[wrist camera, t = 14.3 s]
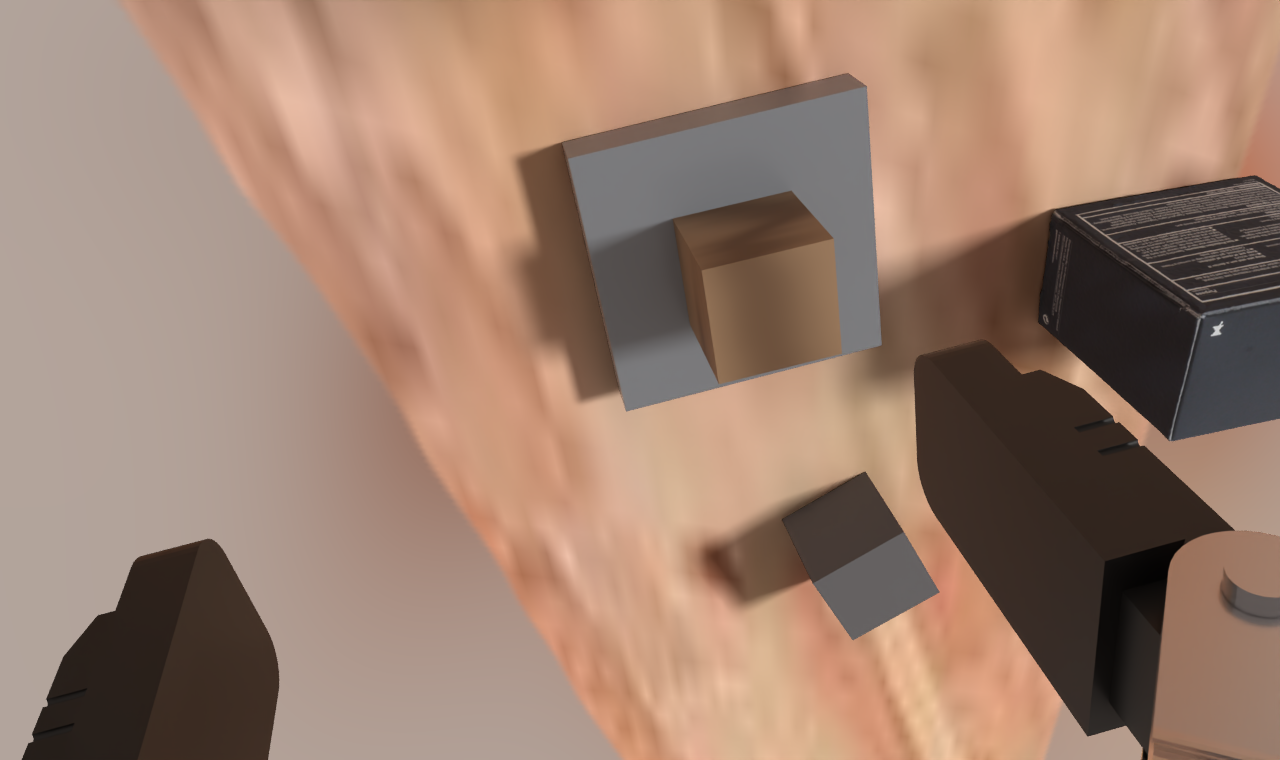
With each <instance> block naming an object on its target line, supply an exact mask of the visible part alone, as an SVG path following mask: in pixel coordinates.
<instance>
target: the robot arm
mask: <svg viewBox="0 0 1280 760" xmlns="http://www.w3.org/2000/svg"><path fill="white" fill-rule="evenodd" d="M914 388H915V414H916V441H917V463H918V471H919V476H920V480H921V484H922V487H923V490H924V493H925V496H926V498H927V501H928V503H929V505H930V507H931V509H932V511H933V513H934V514H935V516H936V517H937V519H938V520H939V522H940V523H941V525H942V526H943V528H944V529H945V531H946V532H947V533H948V535H949V536H950V538H951V539H952V541H953V542H954V544H955V545H956V546H957V548H958V549H959V551H960V552H961V554H962V555H963V557H964V558H965V560H966V561H967V562H968V564H969V565H970V567H971V568H972V570H973V571H974V573H975V574H976V575H977V577H978V578H979V580H980V581H981V583H982V584H983V586H984V587H985V589H986V590H987V591H988V593H989V594H990V596H991V597H992V599H993V600H994V602H995V603H996V604H997V606H998V607H999V609H1000V610H1001V612H1002V613H1003V615H1004V616H1005V617H1006V619H1007V620H1008V622H1009V623H1010V625H1011V626H1012V628H1013V629H1014V631H1015V632H1016V633H1017V635H1018V636H1019V638H1020V639H1021V641H1022V642H1023V644H1024V645H1025V646H1026V648H1027V649H1028V651H1029V652H1030V654H1031V655H1032V657H1033V658H1034V660H1035V661H1036V662H1037V664H1038V665H1039V667H1040V668H1041V670H1042V671H1043V673H1044V674H1045V675H1046V677H1047V678H1048V680H1049V681H1050V683H1051V684H1052V686H1053V687H1054V688H1055V690H1056V691H1057V693H1058V694H1059V696H1060V697H1061V699H1062V700H1063V702H1064V703H1065V704H1066V706H1067V707H1068V709H1069V710H1070V712H1071V713H1072V715H1073V716H1074V717H1075V719H1076V720H1077V722H1078V723H1079V725H1080V726H1081V728H1082V729H1083V731H1084V732H1085V733H1086V735H1087V736H1091V735H1095V734H1098V733H1101V732H1105V731H1109V730H1112V729H1116V728H1119V727H1123V726H1127V727H1128V728H1129V730H1130V731H1131V733H1132V734H1133V735H1134V737H1135V738H1136V739H1137V741H1138V742H1139V743H1140V745H1141V746H1142V747H1143V748H1142V756H1141V760H1280V537H1279V536H1276V535H1271V534H1266V533H1261V532H1252V531H1235V530H1234V529H1233V528H1232V527H1231V526H1230V525H1228V523H1227V522H1225V521H1224V520H1223V519H1222V518H1221V517H1220V516H1219V515H1218V514H1217V513H1216V512H1215V511H1214V510H1212V508H1210V507H1209V506H1208V505H1207V504H1206V503H1205V502H1204V501H1203V500H1202V499H1201V498H1200V497H1199V496H1198V495H1196V494H1195V493H1194V492H1193V491H1192V490H1191V489H1190V488H1189V487H1188V486H1187V485H1186V484H1185V483H1184V482H1182V480H1180V479H1179V478H1178V477H1177V476H1176V475H1175V474H1174V473H1173V472H1172V471H1171V470H1170V469H1169V468H1168V467H1167V466H1165V465H1164V464H1163V463H1162V462H1161V461H1160V460H1159V459H1158V458H1157V457H1156V456H1155V455H1154V454H1153V453H1151V452H1150V451H1149V450H1148V449H1147V448H1146V447H1145V446H1139V444H1138V439H1137V438H1135V437H1134V436H1133V435H1132V434H1131V433H1130V432H1129V431H1128V430H1127V429H1126V428H1125V427H1124V426H1123V425H1122V424H1120V423H1119V422H1118V423H1115V422H1114V419H1113V416H1112V415H1111V414H1110V413H1109V412H1108V411H1107V410H1105V409H1104V408H1103V407H1102V406H1101V405H1100V404H1099V403H1098V402H1097V401H1096V400H1095V399H1094V398H1093V397H1092V396H1090V395H1089V394H1088V393H1087V392H1086V391H1085V390H1084V389H1082V388H1080V387H1078V386H1076V385H1073V384H1071V383H1069V382H1067V381H1064V380H1062V379H1060V378H1058V377H1056V376H1053V375H1051V374H1049V373H1047V372H1044V371H1042V370H1038V371H1034V372H1030V373H1026V374H1021V373H1020V372H1019V371H1018V370H1017V369H1016V368H1015V367H1014V366H1013V365H1012V364H1011V363H1010V362H1009V361H1008V360H1007V359H1006V358H1005V357H1004V356H1003V355H1002V354H1001V353H1000V352H999V351H998V350H997V349H996V348H995V347H994V346H993V345H991V344H990V343H989V342H987V341H986V340H978V341H974V342H971V343H967V344H963V345H959V346H955V347H951V348H947V349H944V350H940V351H936V352H932V353H928V354H924V355H921V356H919V357H918V358H917V360H916V362H915V367H914ZM278 691H279V670H278V662H277V657H276V653H275V649H274V645H273V642H272V640H271V637H270V635H269V633H268V631H267V629H266V627H265V625H264V623H263V622H262V620H261V618H260V616H259V614H258V612H257V611H256V609H255V607H254V605H253V604H252V602H251V600H250V598H249V596H248V594H247V592H246V591H245V589H244V587H243V585H242V583H241V582H240V580H239V578H238V576H237V574H236V572H235V571H234V569H233V567H232V565H231V563H230V562H229V560H228V558H227V556H226V554H225V553H224V551H223V549H222V548H221V547H220V546H219V545H218V544H217V543H216V542H215V541H214V540H212V539H205V540H202V541H198V542H194V543H190V544H186V545H182V546H179V547H175V548H171V549H167V550H163V551H159V552H156V553H152V554H148V555H144V556H140V557H139V558H137V559H136V560H135V562H134V563H133V565H132V567H131V570H130V572H129V575H128V578H127V581H126V583H125V586H124V589H123V591H122V594H121V598H120V600H119V602H118V605H117V608H116V611H113V612H109V613H105V614H101V615H98V616H97V617H96V618H95V619H94V621H93V622H92V623H91V624H90V625H89V626H88V628H87V629H86V630H85V631H84V633H83V634H82V635H81V636H80V637H79V639H78V640H77V641H76V642H75V643H74V645H73V646H72V647H71V648H70V649H69V651H68V652H67V653H66V654H65V656H64V657H63V659H62V662H61V664H60V666H59V669H58V671H57V674H56V676H55V679H54V681H53V684H52V687H51V689H50V691H49V694H48V696H47V702H48V706H47V707H43V709H42V711H41V713H40V716H39V718H38V721H37V723H36V726H35V728H34V731H33V733H32V735H33V738H34V740H33V742H31V743H28V746H27V748H26V750H25V753H24V755H23V758H22V760H268V755H269V749H270V743H271V736H272V730H273V724H274V716H275V710H276V704H277V698H278Z"/></svg>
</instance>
